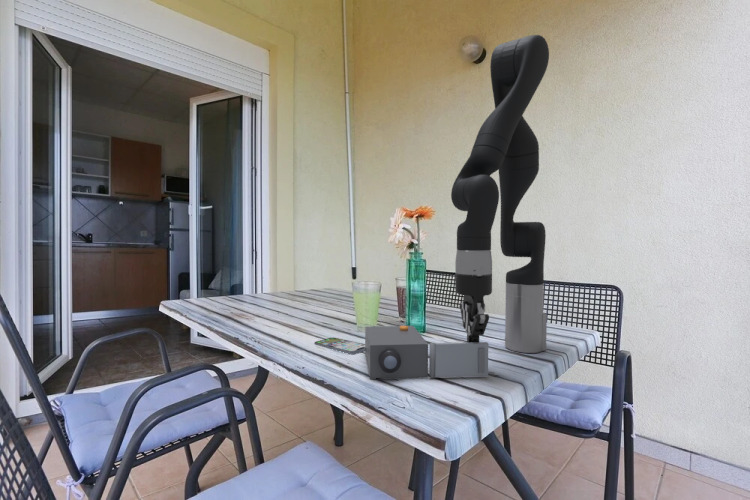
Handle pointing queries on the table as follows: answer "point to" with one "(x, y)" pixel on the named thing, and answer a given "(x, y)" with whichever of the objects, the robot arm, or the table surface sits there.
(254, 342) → the table surface
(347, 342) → the smartphone
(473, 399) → the table surface
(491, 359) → the table surface
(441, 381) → the table surface
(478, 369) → the side door
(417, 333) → the camera body
